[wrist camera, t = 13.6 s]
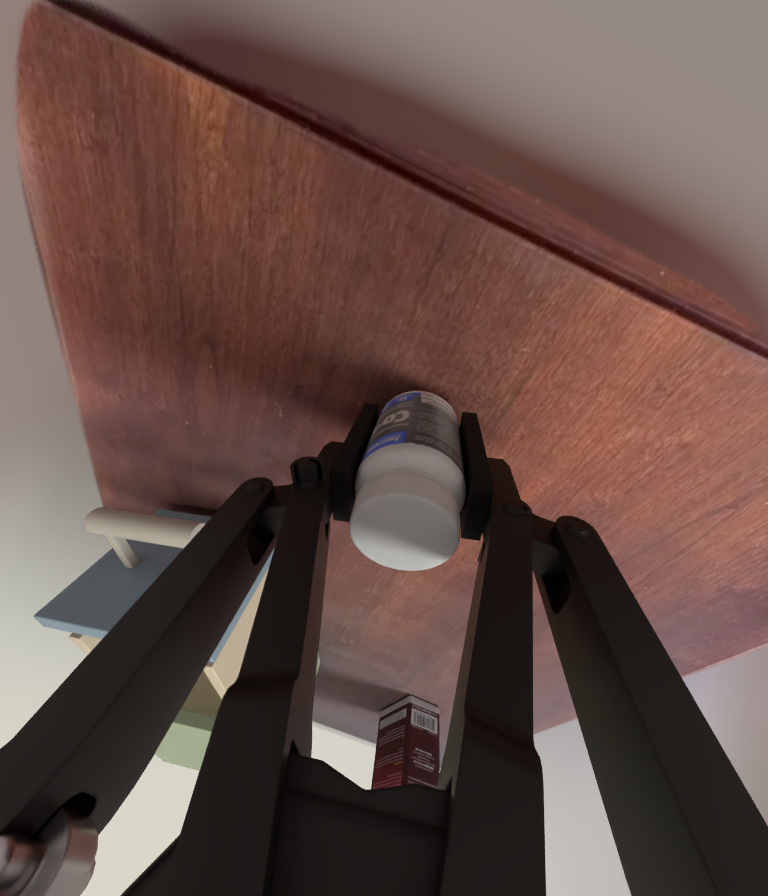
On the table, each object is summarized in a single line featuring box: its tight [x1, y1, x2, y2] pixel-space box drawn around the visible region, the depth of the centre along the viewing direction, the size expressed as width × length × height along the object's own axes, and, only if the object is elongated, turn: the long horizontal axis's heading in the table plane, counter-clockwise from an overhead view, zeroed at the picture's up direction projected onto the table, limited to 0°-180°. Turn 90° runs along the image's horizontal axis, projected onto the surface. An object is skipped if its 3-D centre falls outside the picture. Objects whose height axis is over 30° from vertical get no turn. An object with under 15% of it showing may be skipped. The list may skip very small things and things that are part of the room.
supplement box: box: [371, 695, 440, 790], centre depth 34 cm, size 9×5×16 cm, turn 151°
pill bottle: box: [349, 391, 466, 571], centre depth 14 cm, size 5×5×8 cm
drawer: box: [34, 507, 274, 717], centre depth 23 cm, size 18×11×9 cm, turn 178°
